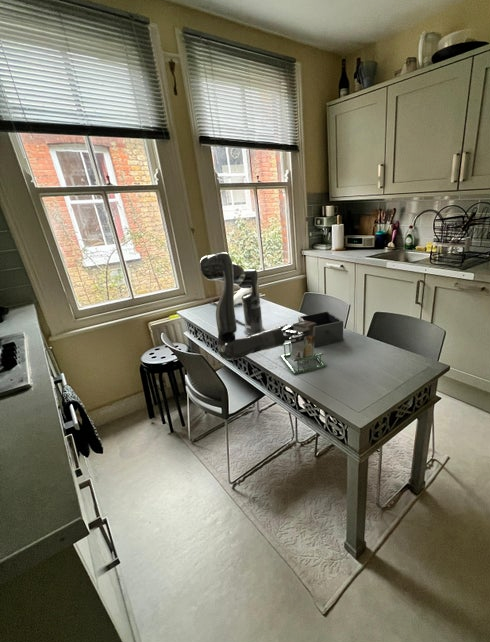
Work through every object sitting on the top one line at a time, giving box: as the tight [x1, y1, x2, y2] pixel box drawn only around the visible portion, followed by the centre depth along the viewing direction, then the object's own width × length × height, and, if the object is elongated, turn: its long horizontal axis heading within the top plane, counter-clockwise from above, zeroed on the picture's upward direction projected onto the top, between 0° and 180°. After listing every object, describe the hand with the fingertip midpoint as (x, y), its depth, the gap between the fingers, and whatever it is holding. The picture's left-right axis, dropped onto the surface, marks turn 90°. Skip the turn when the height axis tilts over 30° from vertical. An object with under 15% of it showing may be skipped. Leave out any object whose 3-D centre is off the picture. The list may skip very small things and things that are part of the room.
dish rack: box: [280, 341, 326, 375], centre depth 136 cm, size 17×14×6 cm
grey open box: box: [297, 310, 344, 348], centre depth 157 cm, size 17×17×10 cm
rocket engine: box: [234, 288, 252, 304], centre depth 213 cm, size 12×12×18 cm
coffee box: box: [290, 320, 317, 364], centre depth 134 cm, size 9×6×16 cm
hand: (304, 329), depth 132 cm, fingers closed on coffee box, 8 cm apart
